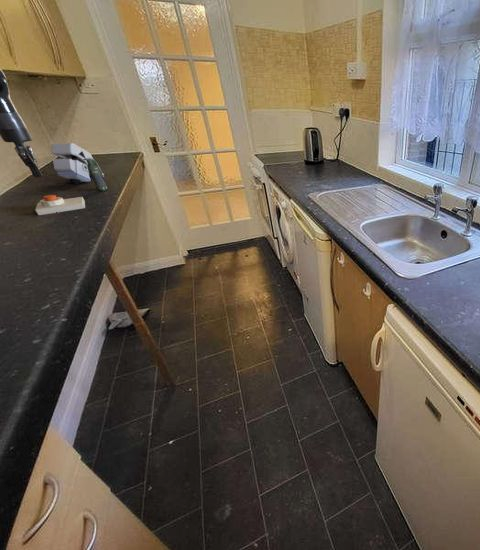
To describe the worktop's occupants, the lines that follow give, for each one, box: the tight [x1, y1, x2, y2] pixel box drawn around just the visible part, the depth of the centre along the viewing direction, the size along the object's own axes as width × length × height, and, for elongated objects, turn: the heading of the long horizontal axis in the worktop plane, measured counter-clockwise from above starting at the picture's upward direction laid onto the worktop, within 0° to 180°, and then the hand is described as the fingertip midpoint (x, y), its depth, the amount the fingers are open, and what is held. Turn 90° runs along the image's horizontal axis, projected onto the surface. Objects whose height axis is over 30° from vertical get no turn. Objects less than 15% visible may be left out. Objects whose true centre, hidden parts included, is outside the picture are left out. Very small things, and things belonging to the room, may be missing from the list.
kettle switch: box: [43, 194, 58, 201], centre depth 118 cm, size 4×4×2 cm
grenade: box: [84, 157, 108, 192], centre depth 140 cm, size 4×4×15 cm
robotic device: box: [50, 142, 105, 185], centre depth 155 cm, size 10×21×20 cm
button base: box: [35, 196, 86, 216], centre depth 121 cm, size 14×11×4 cm
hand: (38, 176), depth 114 cm, fingers closed
